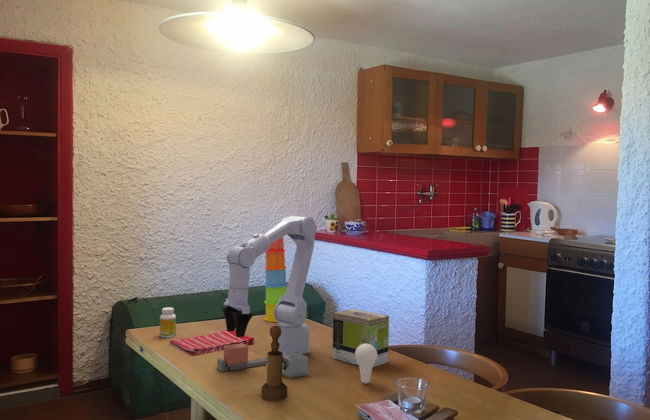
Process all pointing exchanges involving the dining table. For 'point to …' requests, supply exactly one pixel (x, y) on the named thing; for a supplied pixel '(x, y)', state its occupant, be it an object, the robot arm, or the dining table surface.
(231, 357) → the block
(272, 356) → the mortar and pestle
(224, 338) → the dish towel
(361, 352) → the lightbulb
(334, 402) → the dining table surface
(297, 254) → the robot arm
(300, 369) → the grey block with hole
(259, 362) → the rail
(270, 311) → the stacking cups
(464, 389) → the dining table surface
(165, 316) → the supplement bottle
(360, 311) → the tea box
